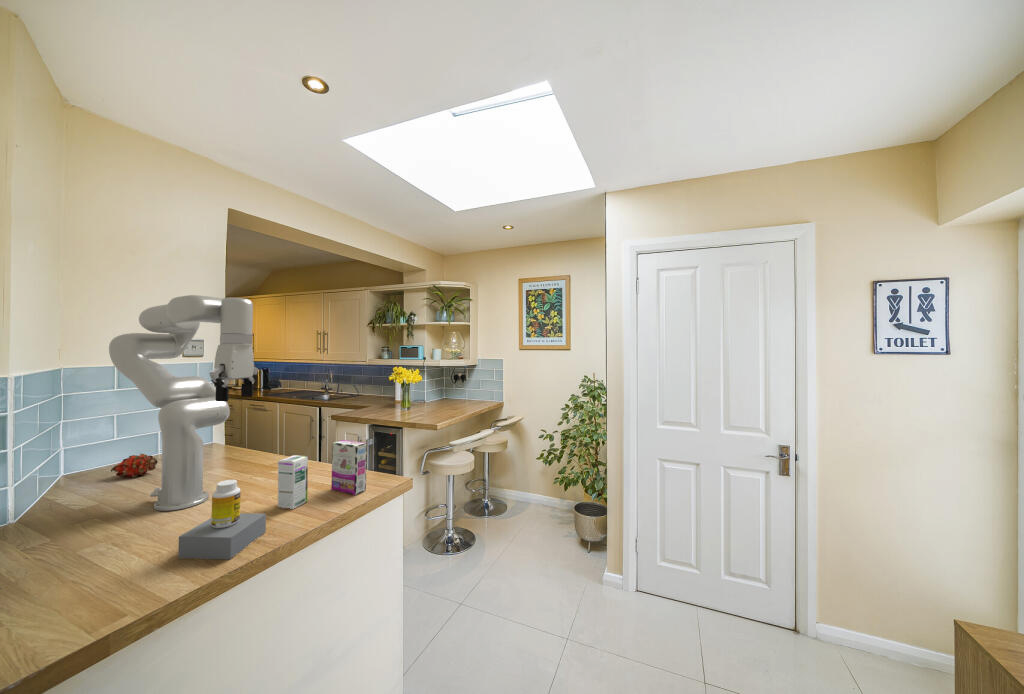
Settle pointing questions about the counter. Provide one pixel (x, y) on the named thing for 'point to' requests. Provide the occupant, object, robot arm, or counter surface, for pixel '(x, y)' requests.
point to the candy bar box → (349, 467)
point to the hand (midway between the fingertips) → (235, 398)
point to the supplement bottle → (225, 504)
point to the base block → (221, 538)
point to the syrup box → (292, 481)
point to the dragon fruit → (135, 466)
